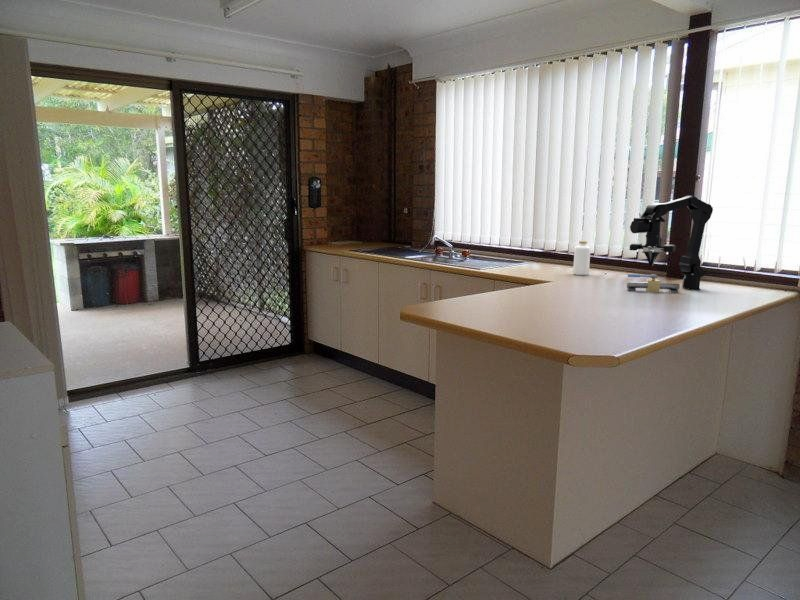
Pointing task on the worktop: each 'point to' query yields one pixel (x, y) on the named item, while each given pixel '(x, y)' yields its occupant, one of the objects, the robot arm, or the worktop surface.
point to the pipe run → (653, 286)
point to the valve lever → (642, 275)
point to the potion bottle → (581, 259)
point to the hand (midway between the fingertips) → (651, 266)
